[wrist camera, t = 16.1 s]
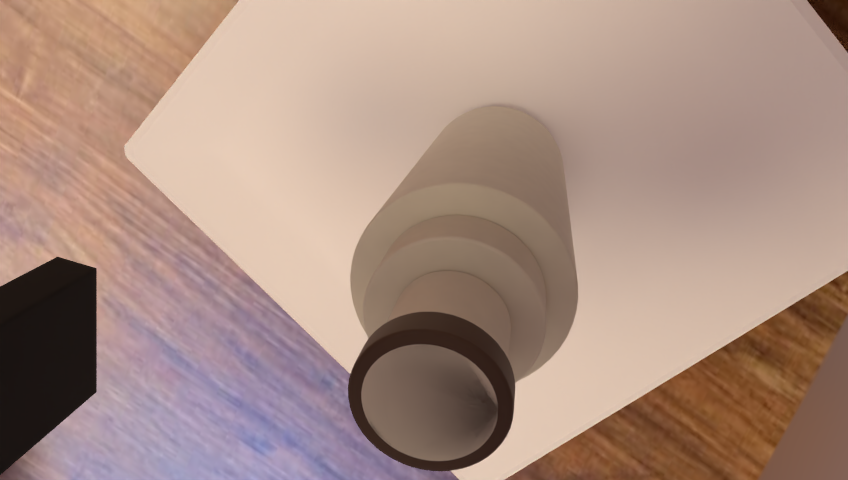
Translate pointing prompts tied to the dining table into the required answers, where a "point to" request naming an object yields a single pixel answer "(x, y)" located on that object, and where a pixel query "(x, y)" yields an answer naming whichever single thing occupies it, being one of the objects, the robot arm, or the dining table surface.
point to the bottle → (462, 290)
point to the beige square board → (581, 153)
